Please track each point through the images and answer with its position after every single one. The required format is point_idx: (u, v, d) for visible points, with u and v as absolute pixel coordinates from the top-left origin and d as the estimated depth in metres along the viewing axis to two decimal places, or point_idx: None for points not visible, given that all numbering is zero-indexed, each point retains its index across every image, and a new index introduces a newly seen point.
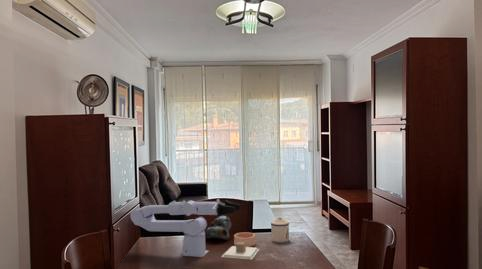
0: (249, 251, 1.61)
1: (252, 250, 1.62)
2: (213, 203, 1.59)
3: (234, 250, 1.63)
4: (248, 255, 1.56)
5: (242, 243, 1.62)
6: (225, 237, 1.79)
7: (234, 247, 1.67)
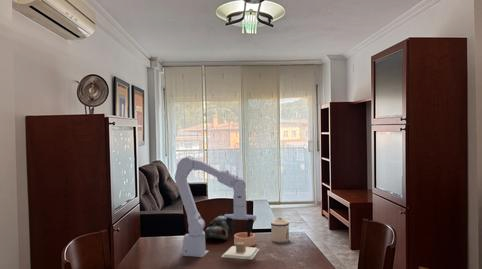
0: (249, 251, 1.61)
1: (252, 250, 1.62)
2: None
3: (234, 250, 1.63)
4: (248, 255, 1.56)
5: (242, 243, 1.62)
6: (224, 237, 1.79)
7: (234, 247, 1.67)
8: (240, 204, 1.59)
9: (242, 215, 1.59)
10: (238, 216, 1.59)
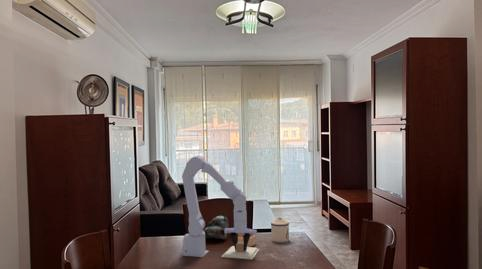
0: (249, 251, 1.61)
1: (252, 250, 1.62)
2: None
3: (234, 250, 1.63)
4: (248, 255, 1.56)
5: (242, 243, 1.62)
6: (223, 237, 1.80)
7: (234, 247, 1.67)
8: (240, 218, 1.59)
9: (242, 229, 1.59)
10: (238, 230, 1.59)
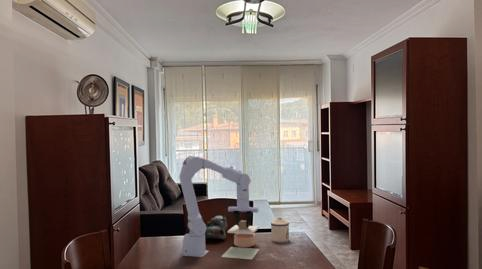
0: (251, 229, 1.70)
1: (254, 228, 1.72)
2: None
3: (237, 228, 1.72)
4: (250, 231, 1.65)
5: (245, 221, 1.71)
6: (222, 237, 1.80)
7: (237, 226, 1.77)
8: (245, 197, 1.69)
9: (245, 207, 1.69)
10: (241, 208, 1.69)
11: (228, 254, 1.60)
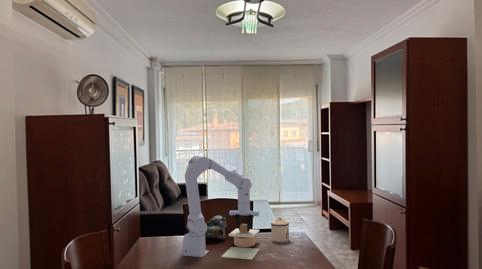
0: (252, 232, 1.74)
1: (255, 231, 1.75)
2: None
3: (238, 231, 1.76)
4: (251, 235, 1.69)
5: (245, 225, 1.74)
6: (222, 237, 1.80)
7: (238, 229, 1.80)
8: (247, 201, 1.73)
9: (246, 211, 1.72)
10: (242, 212, 1.72)
11: (228, 254, 1.60)
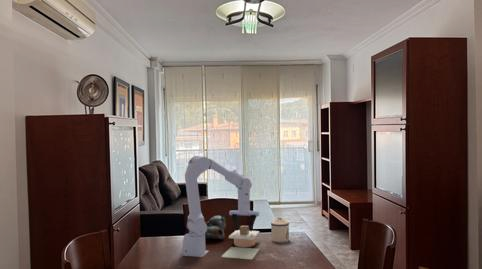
0: (252, 234, 1.74)
1: (255, 233, 1.75)
2: None
3: (238, 233, 1.76)
4: (251, 237, 1.69)
5: (245, 226, 1.74)
6: (221, 237, 1.80)
7: (238, 230, 1.80)
8: (247, 201, 1.73)
9: (246, 211, 1.72)
10: (242, 212, 1.72)
11: (228, 254, 1.60)
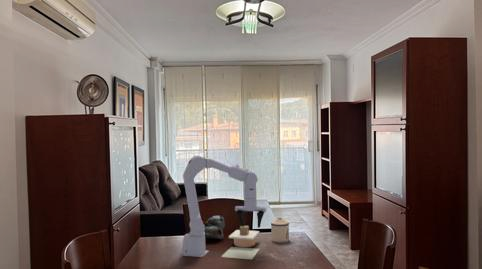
0: (252, 234, 1.74)
1: (255, 233, 1.75)
2: None
3: (238, 233, 1.76)
4: (251, 237, 1.69)
5: (245, 226, 1.74)
6: (220, 236, 1.80)
7: (238, 230, 1.80)
8: (252, 196, 1.65)
9: (252, 207, 1.65)
10: (249, 208, 1.65)
11: (228, 254, 1.60)
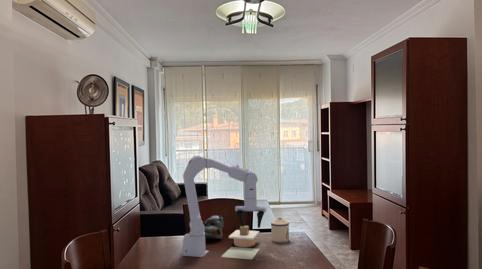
0: (252, 234, 1.74)
1: (255, 233, 1.75)
2: None
3: (238, 233, 1.76)
4: (251, 237, 1.69)
5: (245, 226, 1.74)
6: (219, 236, 1.80)
7: (238, 230, 1.80)
8: (252, 196, 1.65)
9: (253, 207, 1.65)
10: (249, 208, 1.65)
11: (228, 254, 1.60)
